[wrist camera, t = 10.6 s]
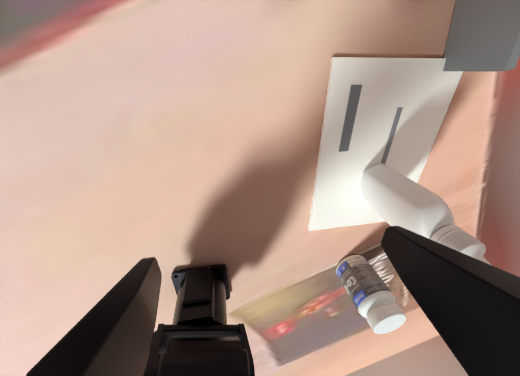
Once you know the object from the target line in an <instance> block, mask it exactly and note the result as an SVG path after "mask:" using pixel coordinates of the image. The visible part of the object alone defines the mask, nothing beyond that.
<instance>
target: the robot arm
mask: <svg viewBox="0 0 520 376" xmlns="http://www.w3.org/2000/svg"><path fill="white" fill-rule="evenodd" d="M381 245H382V248H383V250H384V251H385V253H386V255H387V256H388V258H389V260H390V262H391V263H392V265H393V267H394V268H395V270H396V272H397V274H398V275H399V277H400V278H401V280H402V282H403V283H404V285H405V286H406V288H407V289H408V290H409V292H410V293H411V295H412V296H413V298H414V299H415V300H416V302H417V303H418V305H419V306H420V307H421V309H422V310H423V312H424V313H425V315H426V316H427V317H428V319H429V320H430V322H431V323H432V324H433V326H434V327H435V329H436V330H437V332H438V333H439V334H440V336H441V337H442V338H443V340H444V341H445V343H446V344H447V345H448V347H449V348H450V350H451V351H452V353H453V354H454V356H455V357H456V358H457V360H458V361H459V363H460V364H461V365H462V367H463V368H464V370H465V371H466V373H467V374H468V375H469V376H520V277H517V276H515V275H513V274H511V273H508V272H506V271H503V270H501V269H499V268H496V267H494V266H492V265H489V264H487V263H485V262H482V261H480V260H478V259H475V258H473V257H471V256H468V255H466V254H464V253H461V252H459V251H457V250H454V249H452V248H450V247H447V246H445V245H442V244H440V243H438V242H435V241H433V240H431V239H428V238H426V237H424V236H421V235H419V234H417V233H414V232H412V231H410V230H407V229H405V228H403V227H400V226H389V227H387V228H386V230H385V232H384V235H383V238H382V240H381ZM222 268H223V269H222ZM171 278H172V281H173V284H174V287H175V290H176V294H177V302H176V307H175V313H174V318H173V324H172V325H164V324H159V325H158V329H157V331H155V332H154V327H155V322H156V315H157V308H158V301H159V293H160V286H161V271H160V268H159V265H158V262H157V260H156V258H155V257H150V258H143V259H141V260H140V261H139V262H138V263H137V264H136V265H135V266H134V267H133V268H132V269H131V270H130V271H129V272H128V273H127V274H126V275H125V276H124V277H123V278H122V279H121V280H120V281H119V282H118V283H117V284H116V285H115V286H114V287H113V288H112V289H111V290H110V291H109V292H108V293H107V294H106V295H105V296H104V297H103V298H102V299H101V300H100V301H99V302H98V303H97V304H96V305H95V306H94V307H93V308H92V309H91V310H90V311H89V312H88V313H87V314H86V315H85V316H84V317H83V318H82V319H81V320H80V321H79V322H78V323H77V324H76V325H75V326H74V327H73V328H72V329H71V330H70V331H69V332H68V333H67V334H66V335H65V336H64V337H63V338H62V339H61V340H60V341H59V342H58V343H57V344H56V345H55V346H54V347H53V348H52V349H51V350H50V351H49V352H48V353H47V354H46V355H45V356H44V357H43V358H42V359H41V360H40V361H39V362H38V363H37V364H36V365H35V366H34V367H33V368H32V369H31V370H30V371H29V372H28V373H27V374H26V376H255V373H254V363H253V358H252V354H251V350H250V346H249V342H248V338H247V335H246V331H245V327H244V324H238V325H227V316H226V300H227V299H229V298H230V292H229V283H228V274H227V266H226V265H224V264H221V265H214V266H207V267H200V268H193V269H186V270H179V271H174V272H173V273H172V276H171ZM153 332H154V333H153Z"/></svg>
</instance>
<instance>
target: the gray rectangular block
mask: <svg viewBox="0 0 520 376" xmlns="http://www.w3.org/2000/svg"><path fill="white" fill-rule="evenodd" d="M519 56H520V0H456V4H455V9H454V13H453V17H452V22H451V26H450V30H449V34H448V39H447V43H446V47H445V52H444V56H443V58H446V61H445V65H444V69H443V71H508V70H512V69H515V67H516V64H517V61H518V59H519Z"/></svg>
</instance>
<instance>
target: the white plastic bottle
mask: <svg viewBox="0 0 520 376" xmlns="http://www.w3.org/2000/svg"><path fill="white" fill-rule="evenodd" d="M361 192H362V195H363V198H364V200H365V201H366V203H367V204H368V205H369V206H370V207H371V208H372V209H373V210H374V211H375V212H376V213H377V214H378V215H379V216H380V217H382V218H383V219H384V220H385V221H386V222H387V223H388V224H389V225H390V226H400V227H403V228H405V229H407V230H410V231H412V232H414V233H417V234H419V235H421V236H424V237H426V238H428V239H431V240H433V241H435V242H438V243H440V244H442V245H445V246H447V247H450V248H452V249H454V250H457V251H459V252H461V253H464V254H466V255H468V256H471V257H473V258H475V259H478V260H480V261H482V262H485V263H487V264H489V265H491V264H490V263H489V262H488V261H487V260H486V259H485V258H484V257H483V254H484V252H485V245H484V244H483V243H481V242H480V241H479V240H477V239H475V238H474V237H472V236H471V235H469V234H468V233H466V232H465V231H463V230H462V229H460V228H459V227H457V226H455V223H454V218H453V215H452V212H451V210H450V208H449V207H448V205H447V204H446V203H445V201H444V200H443V199H442V198H440V197H439V196H438V195H436V194H434V193H433V192H431V191H429V190H428V189H426V188H424V187H423V186H421V185H419V184H418V183H416V182H414V181H412V180H411V179H409V178H407V177H406V176H404V175H402V174H400V173H399V172H397V171H395V170H394V169H392V168H390V167H388V166H387V165H385V164H382V163H381V164H378V165H375V166H373V167H371V168H368V169H367V170H365V171H364V173H363V175H362V180H361Z"/></svg>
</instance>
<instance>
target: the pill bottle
mask: <svg viewBox="0 0 520 376" xmlns="http://www.w3.org/2000/svg"><path fill="white" fill-rule="evenodd" d="M336 274H337V276H338V277H339V279H340V281H341V282H342V284H343V286H344V288H345V289H346V291H347V293H348V294H349V296H350V298H351V300H352V301H353V303H354V305H355V307H356V308H357V310H358V312H359V313H360V314H361V315H362V316H363V317H366V318H367V321H368V323H369V325H370V326H371V328H372V329H373V331H374V332H375V333H377V334H385V333H389V332H391V331H393V330H395V329H397V328H399V327H400V326H401V325H402V324H403V323H404V322H405V320H406V315H405V314H404V312H403V311H402V310H401V308H400V307H399V306H398V305H397V304H396V303H395V296H394V295H393V293H392V292H391V290H390V289H389V288H388V287H387V285H386V284H385V283H384V282H383V280H382V279H381V278H380V277H379V275H378V274H377V273H376V272H375V270H374V269H373V268H372V266H371V265H370V264H369V263H368V261H367V260H366V259H365V258H364V257H363V256H361V255H352V256H349V257H346V258H344V259H343V260H342V261H341V262H340V263H339V264H338V265H337V268H336Z"/></svg>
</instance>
